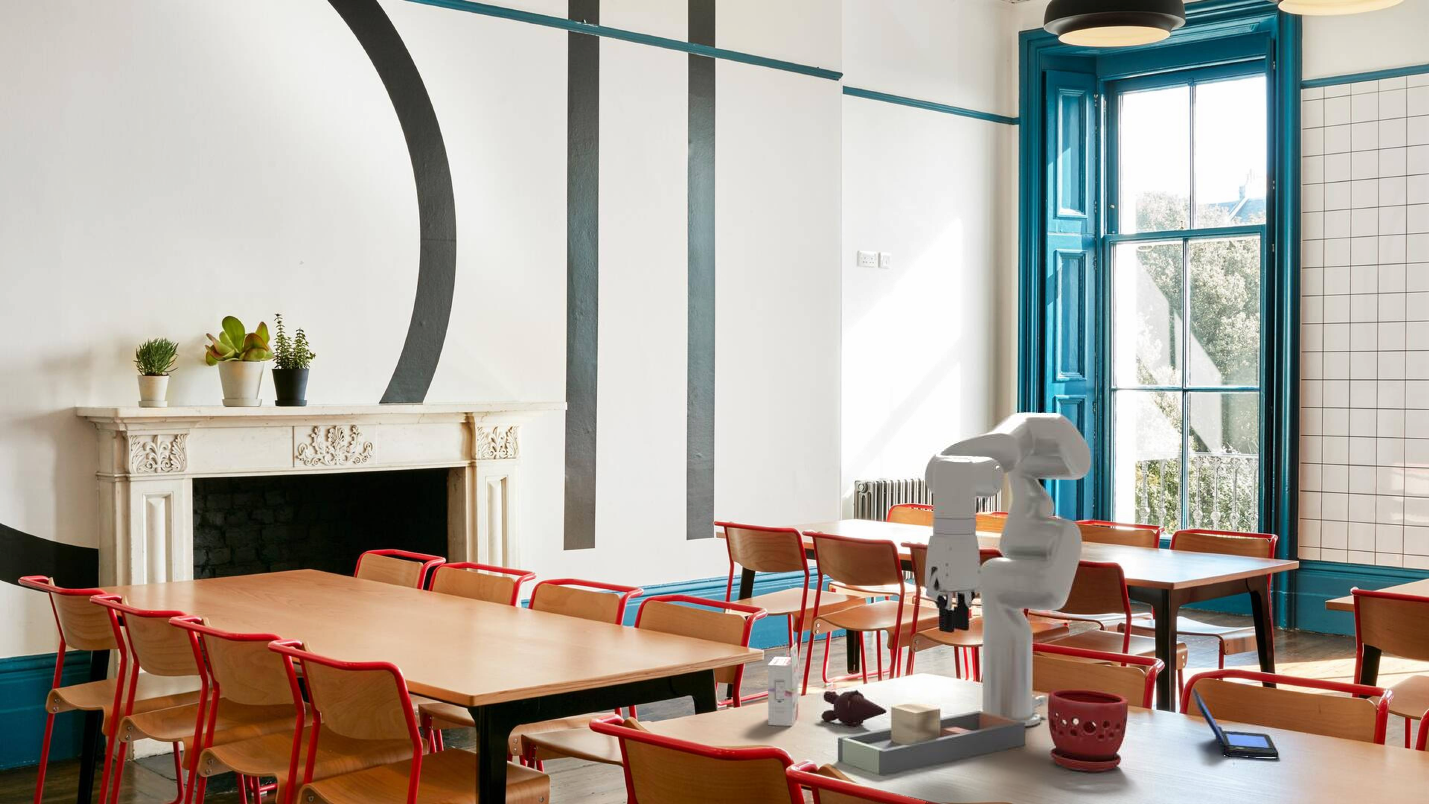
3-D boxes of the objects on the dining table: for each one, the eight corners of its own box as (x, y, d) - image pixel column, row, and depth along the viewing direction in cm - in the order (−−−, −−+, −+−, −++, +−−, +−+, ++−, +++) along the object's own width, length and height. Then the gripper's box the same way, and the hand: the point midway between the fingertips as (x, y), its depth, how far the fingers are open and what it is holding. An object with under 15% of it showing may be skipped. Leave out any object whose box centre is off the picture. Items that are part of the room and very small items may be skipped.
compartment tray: (977, 732, 250) (977, 710, 250) (1025, 744, 240) (1025, 722, 240) (837, 760, 229) (837, 737, 229) (883, 775, 220) (884, 751, 220)
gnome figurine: (898, 694, 253) (836, 689, 263) (875, 690, 248) (812, 685, 258) (895, 731, 251) (832, 725, 261) (872, 728, 246) (809, 722, 256)
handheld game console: (1279, 762, 230) (1279, 708, 230) (1197, 756, 234) (1197, 703, 234) (1268, 740, 245) (1268, 690, 245) (1191, 735, 249) (1191, 686, 249)
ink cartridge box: (773, 715, 263) (774, 640, 263) (798, 716, 262) (799, 641, 262) (766, 725, 254) (767, 648, 254) (792, 726, 253) (792, 649, 253)
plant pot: (1115, 779, 218) (1115, 706, 218) (1037, 768, 225) (1037, 697, 225) (1136, 762, 229) (1136, 692, 229) (1061, 751, 236) (1061, 683, 236)
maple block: (915, 736, 236) (915, 702, 236) (940, 743, 231) (940, 708, 231) (891, 741, 233) (891, 706, 233) (915, 748, 228) (915, 713, 228)
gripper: (970, 524, 246) (969, 623, 246) (906, 528, 236) (906, 632, 236) (1001, 527, 240) (1001, 629, 239) (937, 531, 230) (936, 638, 230)
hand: (953, 629), depth 238 cm, fingers open, 3 cm apart
